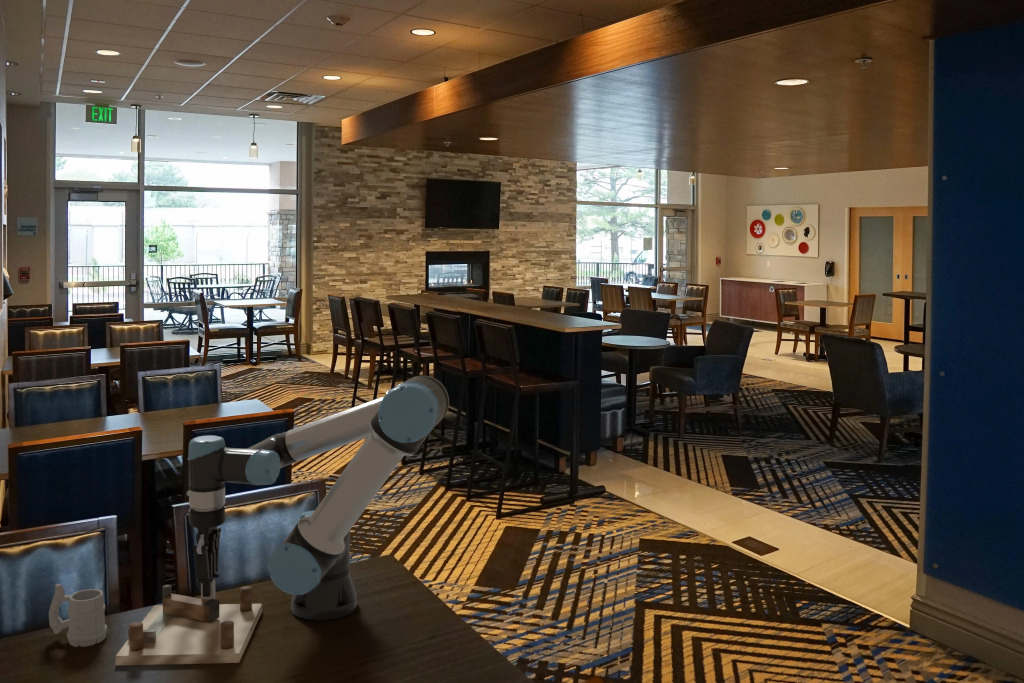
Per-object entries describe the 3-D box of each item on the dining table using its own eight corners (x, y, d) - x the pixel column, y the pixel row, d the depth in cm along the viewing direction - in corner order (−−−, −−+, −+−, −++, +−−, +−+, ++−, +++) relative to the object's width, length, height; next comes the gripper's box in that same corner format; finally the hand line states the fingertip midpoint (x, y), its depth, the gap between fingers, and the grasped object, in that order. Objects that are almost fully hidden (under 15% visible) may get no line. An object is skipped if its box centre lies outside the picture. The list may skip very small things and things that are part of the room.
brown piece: (159, 613, 183) (159, 588, 182) (168, 608, 185) (167, 583, 185) (211, 622, 179) (211, 597, 178) (219, 617, 181) (219, 592, 181)
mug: (96, 648, 171) (95, 592, 169) (39, 647, 170) (38, 591, 169) (114, 631, 178) (113, 578, 177) (59, 630, 178) (57, 577, 177)
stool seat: (262, 611, 190) (262, 582, 190) (239, 662, 167) (239, 629, 166) (154, 613, 188) (154, 584, 187) (115, 665, 164) (115, 632, 163)
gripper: (198, 497, 187) (200, 595, 190) (179, 515, 174) (181, 621, 177) (232, 497, 187) (233, 595, 190) (215, 516, 175) (217, 621, 177)
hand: (208, 607), depth 183 cm, fingers closed
